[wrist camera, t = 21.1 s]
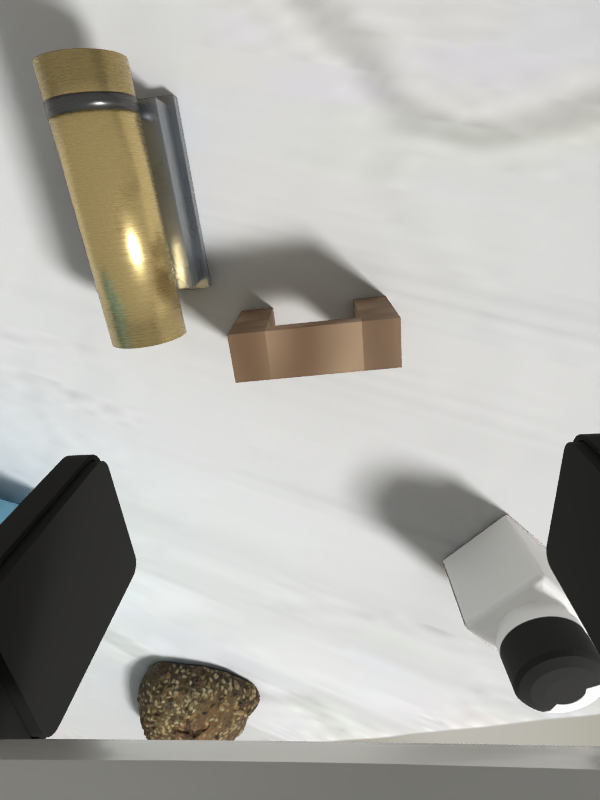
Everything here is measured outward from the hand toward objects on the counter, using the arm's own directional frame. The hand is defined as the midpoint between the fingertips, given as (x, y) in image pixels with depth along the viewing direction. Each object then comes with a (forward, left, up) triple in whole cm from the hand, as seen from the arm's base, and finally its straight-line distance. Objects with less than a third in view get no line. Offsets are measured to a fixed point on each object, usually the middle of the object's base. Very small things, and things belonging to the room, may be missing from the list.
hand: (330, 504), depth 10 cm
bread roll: (+17, +42, -25) cm, 52 cm away
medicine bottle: (-14, +25, -25) cm, 38 cm away
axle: (+10, -6, -22) cm, 24 cm away
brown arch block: (0, +3, -24) cm, 24 cm away
